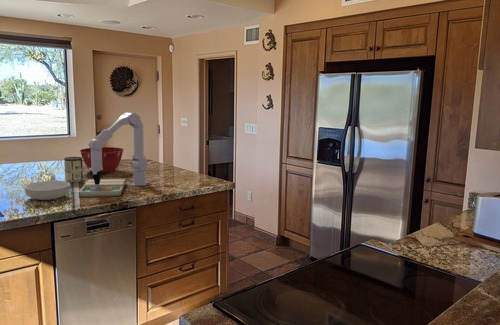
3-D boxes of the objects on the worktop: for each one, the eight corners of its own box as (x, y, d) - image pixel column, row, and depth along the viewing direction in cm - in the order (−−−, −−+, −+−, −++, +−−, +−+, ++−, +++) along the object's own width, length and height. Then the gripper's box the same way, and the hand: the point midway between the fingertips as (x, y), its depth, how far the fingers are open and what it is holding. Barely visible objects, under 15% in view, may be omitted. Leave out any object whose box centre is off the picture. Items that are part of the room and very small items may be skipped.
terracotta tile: (101, 189, 210) (101, 192, 210) (111, 189, 211) (111, 192, 211) (103, 186, 215) (103, 190, 215) (112, 186, 216) (112, 190, 216)
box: (83, 190, 216) (83, 186, 216) (122, 189, 221) (122, 185, 220) (78, 196, 204) (78, 191, 203) (120, 195, 208) (120, 191, 208)
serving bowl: (17, 198, 197) (16, 185, 195) (56, 190, 214) (56, 178, 213) (38, 206, 185) (38, 192, 184) (78, 197, 203) (78, 184, 201)
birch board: (88, 183, 232) (88, 179, 231) (125, 183, 236) (125, 178, 236) (83, 190, 216) (83, 185, 216) (122, 189, 221) (122, 184, 220)
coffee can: (73, 177, 246) (72, 156, 244) (86, 179, 243) (85, 157, 241) (61, 181, 236) (60, 158, 234) (75, 182, 234) (74, 159, 231)
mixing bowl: (71, 173, 257) (70, 151, 255) (95, 166, 285) (95, 145, 282) (110, 177, 252) (109, 153, 250) (131, 169, 280) (130, 148, 277)
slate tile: (89, 189, 208) (90, 192, 209) (99, 189, 210) (99, 192, 210) (91, 187, 213) (91, 190, 214) (101, 187, 214) (101, 190, 215)
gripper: (91, 158, 220) (92, 181, 222) (86, 162, 206) (87, 187, 208) (104, 158, 222) (104, 181, 224) (100, 162, 208) (101, 187, 210)
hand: (97, 184), depth 216 cm, fingers closed
